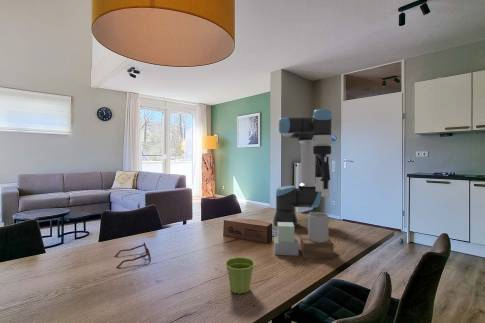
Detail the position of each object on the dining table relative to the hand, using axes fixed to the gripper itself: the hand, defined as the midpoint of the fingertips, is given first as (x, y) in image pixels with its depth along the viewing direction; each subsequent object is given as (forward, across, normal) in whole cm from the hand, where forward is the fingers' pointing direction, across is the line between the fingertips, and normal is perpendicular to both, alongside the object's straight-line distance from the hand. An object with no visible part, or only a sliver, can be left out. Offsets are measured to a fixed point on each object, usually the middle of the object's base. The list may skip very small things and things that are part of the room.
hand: (321, 193), depth 114 cm
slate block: (+26, 0, -16) cm, 30 cm away
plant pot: (+25, +35, -32) cm, 54 cm away
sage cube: (+21, 0, -16) cm, 26 cm away
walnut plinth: (+26, +1, -2) cm, 26 cm away
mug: (+20, 0, -3) cm, 20 cm away
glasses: (+26, +15, -80) cm, 85 cm away
